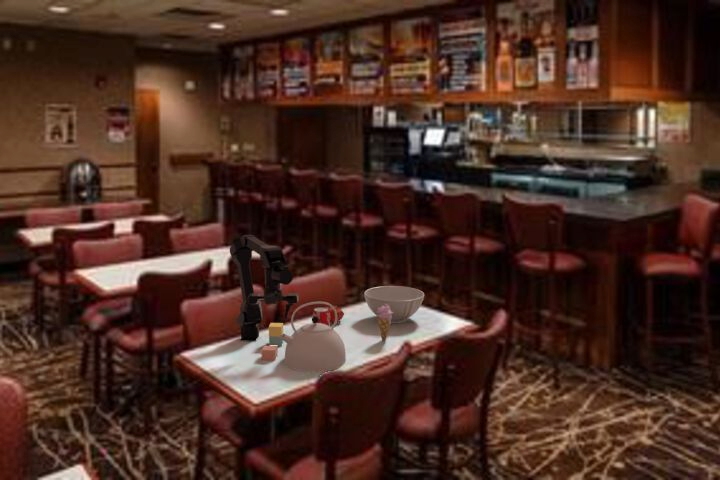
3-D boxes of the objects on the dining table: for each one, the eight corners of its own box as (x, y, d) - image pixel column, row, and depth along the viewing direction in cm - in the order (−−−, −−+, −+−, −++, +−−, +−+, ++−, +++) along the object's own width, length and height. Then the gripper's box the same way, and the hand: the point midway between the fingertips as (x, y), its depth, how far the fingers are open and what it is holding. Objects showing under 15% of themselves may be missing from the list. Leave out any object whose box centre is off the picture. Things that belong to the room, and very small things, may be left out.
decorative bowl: (426, 328, 291) (426, 301, 289) (363, 328, 292) (363, 300, 289) (421, 311, 318) (421, 286, 316) (364, 310, 318) (364, 285, 316)
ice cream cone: (395, 339, 277) (395, 303, 274) (389, 343, 271) (389, 307, 268) (380, 337, 279) (380, 301, 277) (374, 341, 274) (374, 305, 271)
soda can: (327, 340, 274) (327, 312, 272) (310, 339, 275) (310, 311, 273) (331, 335, 281) (331, 307, 279) (315, 334, 282) (315, 306, 280)
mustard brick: (268, 336, 267) (268, 326, 266) (270, 332, 272) (270, 322, 271) (281, 336, 267) (281, 326, 266) (283, 332, 272) (283, 323, 271)
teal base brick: (269, 346, 267) (269, 336, 267) (271, 342, 272) (270, 332, 272) (282, 346, 267) (281, 336, 267) (283, 342, 272) (283, 332, 272)
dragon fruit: (318, 328, 296) (341, 327, 302) (327, 320, 290) (350, 320, 296) (314, 309, 299) (337, 310, 306) (323, 302, 293) (347, 302, 300)
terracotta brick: (261, 360, 252) (261, 350, 251) (264, 355, 257) (264, 345, 256) (274, 360, 252) (274, 350, 251) (277, 356, 256) (277, 346, 256)
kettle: (289, 376, 236) (288, 314, 232) (271, 355, 257) (270, 298, 253) (355, 366, 246) (355, 306, 242) (332, 347, 267) (332, 291, 263)
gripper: (244, 285, 248) (245, 326, 251) (295, 284, 248) (296, 326, 251) (249, 278, 259) (250, 318, 262) (298, 278, 259) (298, 318, 262)
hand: (273, 320), depth 258 cm, fingers open, 9 cm apart
